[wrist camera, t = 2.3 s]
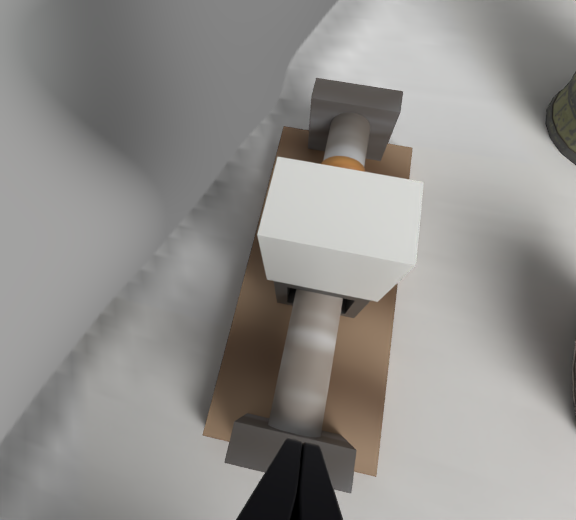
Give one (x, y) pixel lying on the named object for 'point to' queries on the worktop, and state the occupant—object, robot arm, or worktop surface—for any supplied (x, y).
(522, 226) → the worktop surface
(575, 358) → the lighter
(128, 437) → the worktop surface
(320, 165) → the white slider block
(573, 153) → the thermos
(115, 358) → the worktop surface
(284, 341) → the pipe stand
